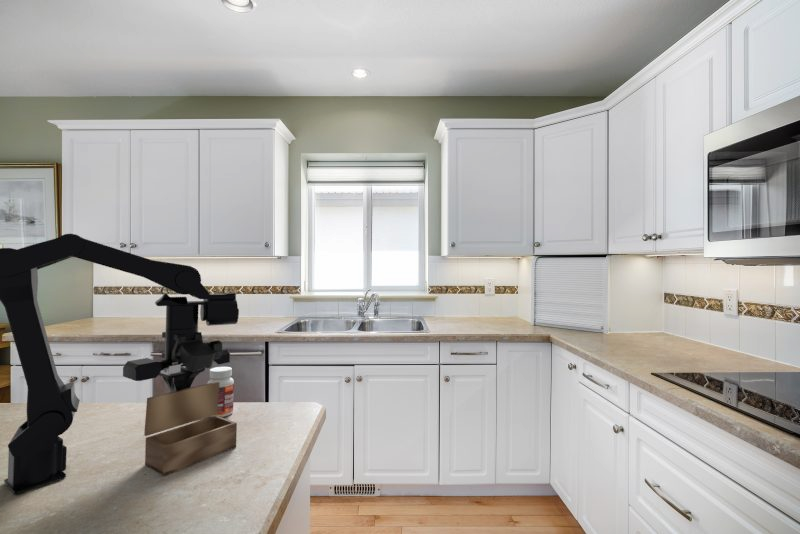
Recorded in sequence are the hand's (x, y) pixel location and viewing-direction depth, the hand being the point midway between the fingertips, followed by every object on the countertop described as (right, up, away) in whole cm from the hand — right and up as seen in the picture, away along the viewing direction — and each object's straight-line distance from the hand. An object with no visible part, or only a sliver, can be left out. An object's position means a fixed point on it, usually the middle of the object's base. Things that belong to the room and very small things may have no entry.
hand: (180, 404), depth 79 cm
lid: (+2, 0, -1) cm, 2 cm away
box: (+4, -9, -3) cm, 10 cm away
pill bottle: (-1, -9, +19) cm, 22 cm away
